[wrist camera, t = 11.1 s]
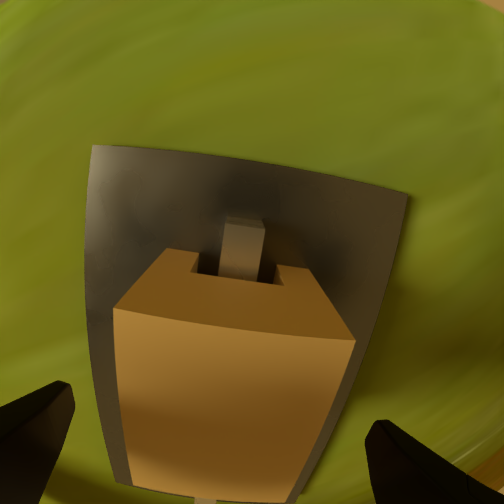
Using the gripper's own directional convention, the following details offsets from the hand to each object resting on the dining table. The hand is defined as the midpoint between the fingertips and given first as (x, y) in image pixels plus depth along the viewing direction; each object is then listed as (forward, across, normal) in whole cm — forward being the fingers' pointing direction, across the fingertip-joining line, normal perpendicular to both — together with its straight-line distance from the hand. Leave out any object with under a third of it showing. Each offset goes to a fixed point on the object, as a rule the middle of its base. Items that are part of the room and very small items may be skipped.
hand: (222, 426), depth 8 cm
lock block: (+5, 0, 0) cm, 5 cm away
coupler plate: (+6, 0, +3) cm, 6 cm away
